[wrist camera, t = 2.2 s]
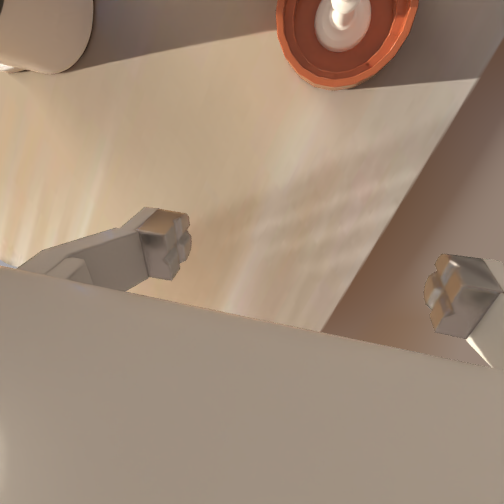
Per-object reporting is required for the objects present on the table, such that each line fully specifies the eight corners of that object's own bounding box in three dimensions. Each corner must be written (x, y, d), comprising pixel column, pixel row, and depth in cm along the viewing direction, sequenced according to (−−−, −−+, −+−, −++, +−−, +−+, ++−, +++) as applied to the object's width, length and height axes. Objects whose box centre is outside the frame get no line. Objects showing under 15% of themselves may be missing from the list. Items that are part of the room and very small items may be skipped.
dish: (257, 23, 29) (250, 12, 26) (356, -98, 24) (361, -128, 21) (330, 116, 31) (330, 115, 28) (436, 18, 26) (450, 5, 23)
